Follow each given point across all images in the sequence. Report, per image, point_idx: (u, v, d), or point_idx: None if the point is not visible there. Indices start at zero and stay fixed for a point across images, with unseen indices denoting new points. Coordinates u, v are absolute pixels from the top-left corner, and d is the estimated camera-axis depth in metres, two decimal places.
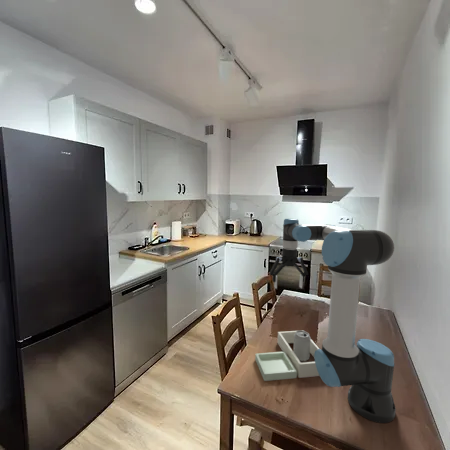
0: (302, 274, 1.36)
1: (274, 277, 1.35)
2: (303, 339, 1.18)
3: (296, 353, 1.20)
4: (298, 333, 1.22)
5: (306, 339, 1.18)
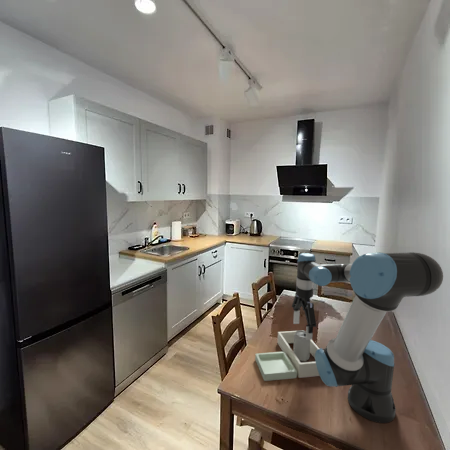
0: (307, 323, 1.13)
1: None
2: (303, 339, 1.18)
3: (296, 353, 1.20)
4: (298, 333, 1.22)
5: None
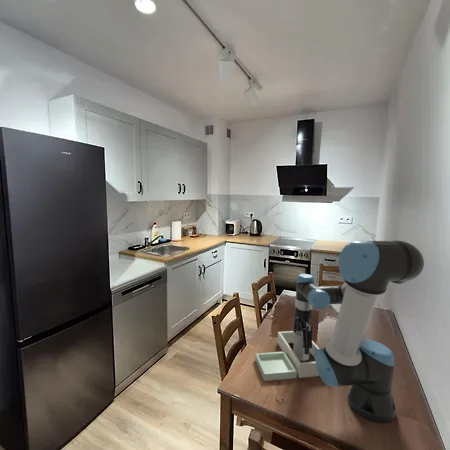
0: None
1: None
2: None
3: (296, 353, 1.20)
4: (298, 333, 1.22)
5: None
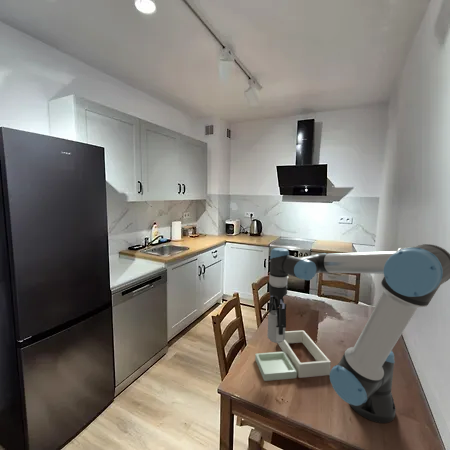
0: None
1: None
2: None
3: (270, 333, 1.10)
4: (273, 313, 1.12)
5: None
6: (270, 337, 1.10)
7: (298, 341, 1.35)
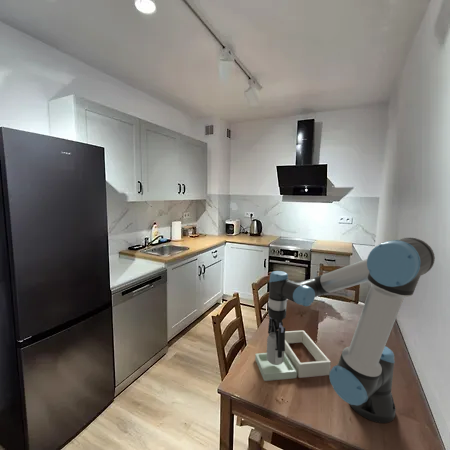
0: None
1: None
2: None
3: (269, 356, 1.11)
4: None
5: None
6: (269, 359, 1.11)
7: (298, 341, 1.35)
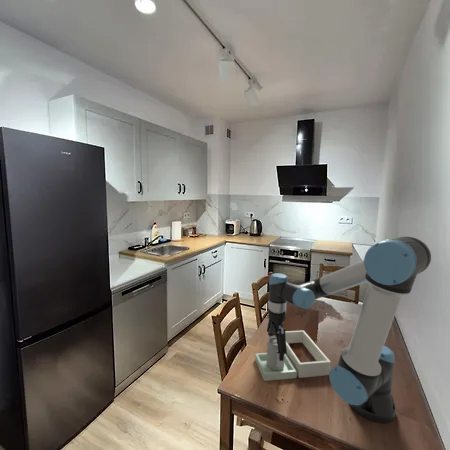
0: (278, 349, 1.07)
1: None
2: (276, 347, 1.09)
3: (269, 362, 1.11)
4: None
5: None
6: (269, 365, 1.11)
7: (298, 341, 1.35)
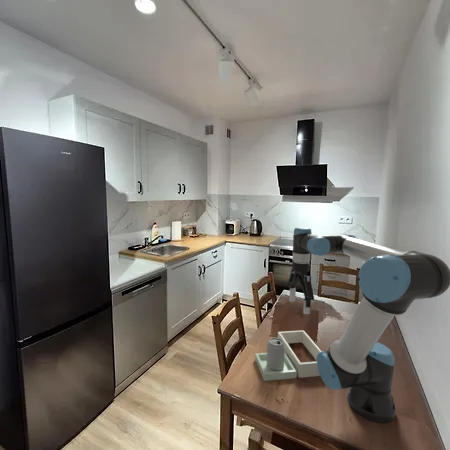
0: (305, 297, 1.11)
1: (290, 289, 1.25)
2: (276, 347, 1.09)
3: (269, 362, 1.11)
4: (272, 341, 1.14)
5: (279, 347, 1.09)
6: (269, 365, 1.11)
7: (298, 341, 1.35)
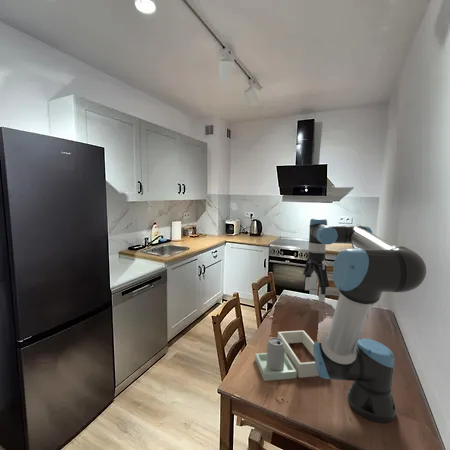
0: (320, 284, 1.16)
1: (306, 277, 1.31)
2: (276, 347, 1.09)
3: (269, 362, 1.11)
4: (272, 341, 1.14)
5: (279, 347, 1.10)
6: (269, 365, 1.11)
7: (298, 341, 1.35)
